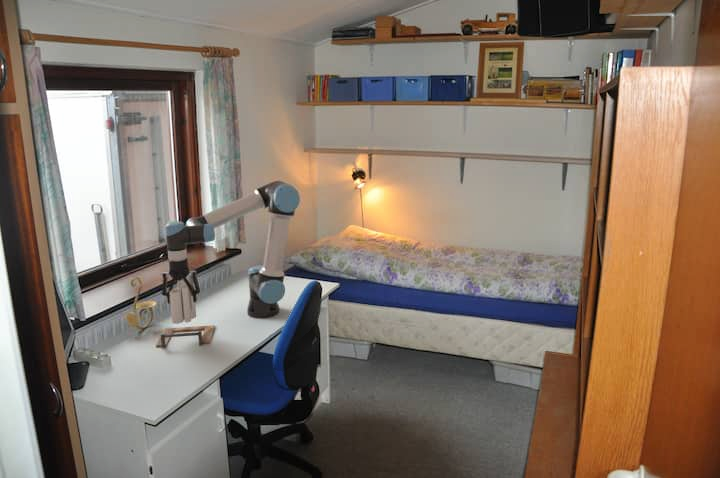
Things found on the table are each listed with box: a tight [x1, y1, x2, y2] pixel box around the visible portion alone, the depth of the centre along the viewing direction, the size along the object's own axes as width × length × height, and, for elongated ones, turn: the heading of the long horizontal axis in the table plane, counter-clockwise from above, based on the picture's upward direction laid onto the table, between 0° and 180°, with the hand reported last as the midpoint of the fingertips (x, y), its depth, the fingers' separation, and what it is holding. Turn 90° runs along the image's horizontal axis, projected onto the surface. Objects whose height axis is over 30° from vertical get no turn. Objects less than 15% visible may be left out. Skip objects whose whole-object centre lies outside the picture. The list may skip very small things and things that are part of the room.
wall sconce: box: [125, 276, 157, 330], centre depth 253 cm, size 14×10×25 cm
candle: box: [169, 273, 197, 325], centre depth 240 cm, size 11×7×20 cm, turn 160°
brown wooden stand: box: [155, 325, 216, 349], centre depth 245 cm, size 22×19×6 cm
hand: (183, 309), depth 242 cm, fingers closed on candle, 8 cm apart
